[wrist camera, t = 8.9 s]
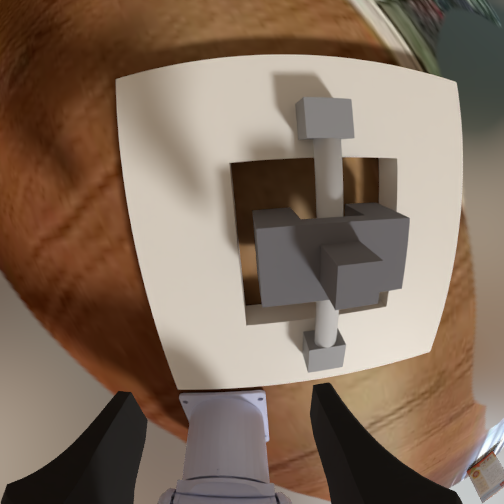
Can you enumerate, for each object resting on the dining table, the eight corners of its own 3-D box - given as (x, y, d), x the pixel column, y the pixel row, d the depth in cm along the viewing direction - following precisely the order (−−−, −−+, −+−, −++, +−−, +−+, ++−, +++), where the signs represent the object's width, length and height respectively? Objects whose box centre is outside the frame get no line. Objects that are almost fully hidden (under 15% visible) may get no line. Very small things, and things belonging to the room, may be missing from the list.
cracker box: (467, 472, 57) (482, 503, 38) (466, 471, 56) (482, 503, 36) (492, 452, 54) (509, 482, 35) (493, 450, 53) (510, 481, 33)
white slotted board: (417, 336, 22) (440, 365, 18) (182, 368, 22) (173, 408, 18) (436, 86, 14) (474, 79, 10) (131, 87, 14) (100, 71, 10)
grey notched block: (373, 261, 17) (424, 311, 11) (257, 273, 17) (266, 338, 11) (376, 202, 16) (438, 232, 10) (252, 210, 16) (260, 248, 10)
